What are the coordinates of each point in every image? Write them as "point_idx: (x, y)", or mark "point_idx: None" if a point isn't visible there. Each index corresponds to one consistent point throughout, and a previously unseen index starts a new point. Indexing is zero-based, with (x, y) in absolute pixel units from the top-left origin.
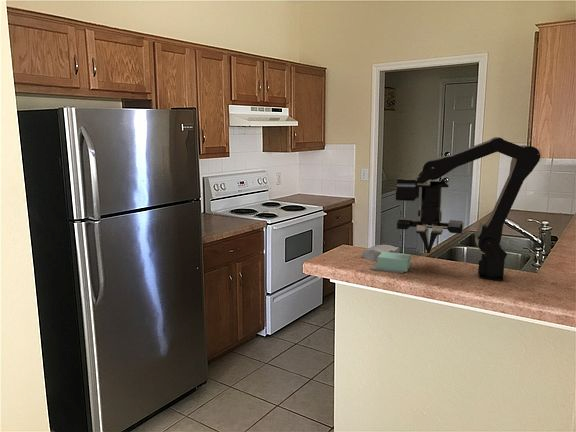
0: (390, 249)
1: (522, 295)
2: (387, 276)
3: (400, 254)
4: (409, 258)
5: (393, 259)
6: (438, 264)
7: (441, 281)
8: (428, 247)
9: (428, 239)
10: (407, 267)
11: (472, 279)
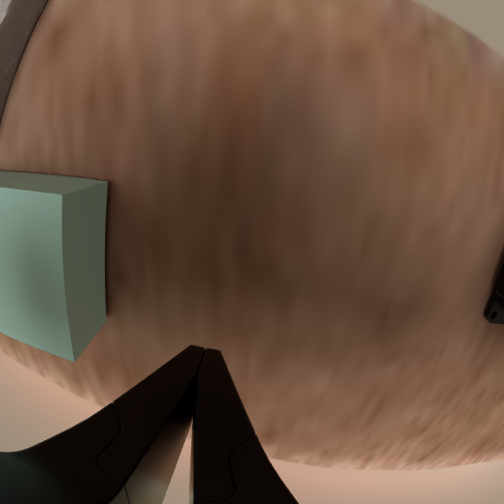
0: None
1: (499, 423)
2: (55, 369)
3: (4, 218)
4: (70, 263)
5: (10, 334)
6: (315, 61)
7: (293, 405)
8: (189, 419)
9: (154, 448)
10: (96, 309)
11: (448, 340)
